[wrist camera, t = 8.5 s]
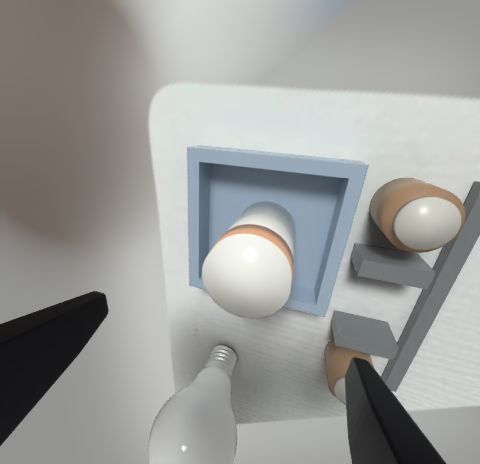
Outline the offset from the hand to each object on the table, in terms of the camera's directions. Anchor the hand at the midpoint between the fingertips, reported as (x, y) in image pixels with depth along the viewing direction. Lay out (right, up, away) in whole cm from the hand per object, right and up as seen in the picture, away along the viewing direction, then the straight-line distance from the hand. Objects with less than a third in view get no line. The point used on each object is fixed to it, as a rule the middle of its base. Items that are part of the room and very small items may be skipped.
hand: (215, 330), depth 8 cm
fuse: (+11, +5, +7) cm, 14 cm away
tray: (+3, +4, +10) cm, 11 cm away
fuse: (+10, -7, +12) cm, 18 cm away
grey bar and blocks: (+12, -1, +9) cm, 15 cm away
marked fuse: (+3, +4, +9) cm, 10 cm away
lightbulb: (-1, -9, +16) cm, 18 cm away
